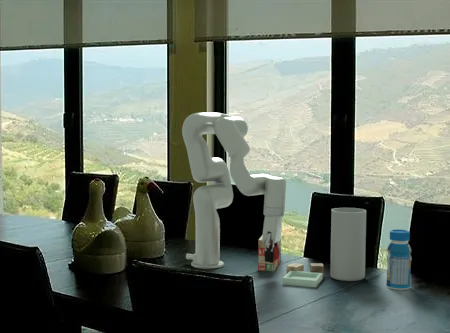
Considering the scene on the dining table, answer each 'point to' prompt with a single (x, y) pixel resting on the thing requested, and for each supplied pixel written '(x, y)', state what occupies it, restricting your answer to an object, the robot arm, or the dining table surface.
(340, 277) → the cylinder vase
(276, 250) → the red round fruit
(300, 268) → the beech block
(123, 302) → the dining table surface
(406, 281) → the beverage bottle
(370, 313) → the dining table surface
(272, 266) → the stack of blocks
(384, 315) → the dining table surface
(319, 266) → the walnut block
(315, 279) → the dish
